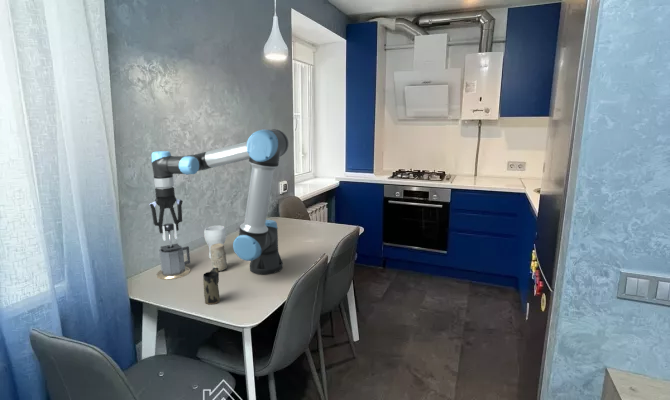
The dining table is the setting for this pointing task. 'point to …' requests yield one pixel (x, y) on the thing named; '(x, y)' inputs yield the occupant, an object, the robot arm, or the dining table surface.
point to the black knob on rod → (169, 228)
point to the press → (173, 262)
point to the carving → (218, 256)
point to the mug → (211, 286)
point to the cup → (214, 236)
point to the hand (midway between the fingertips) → (169, 238)
